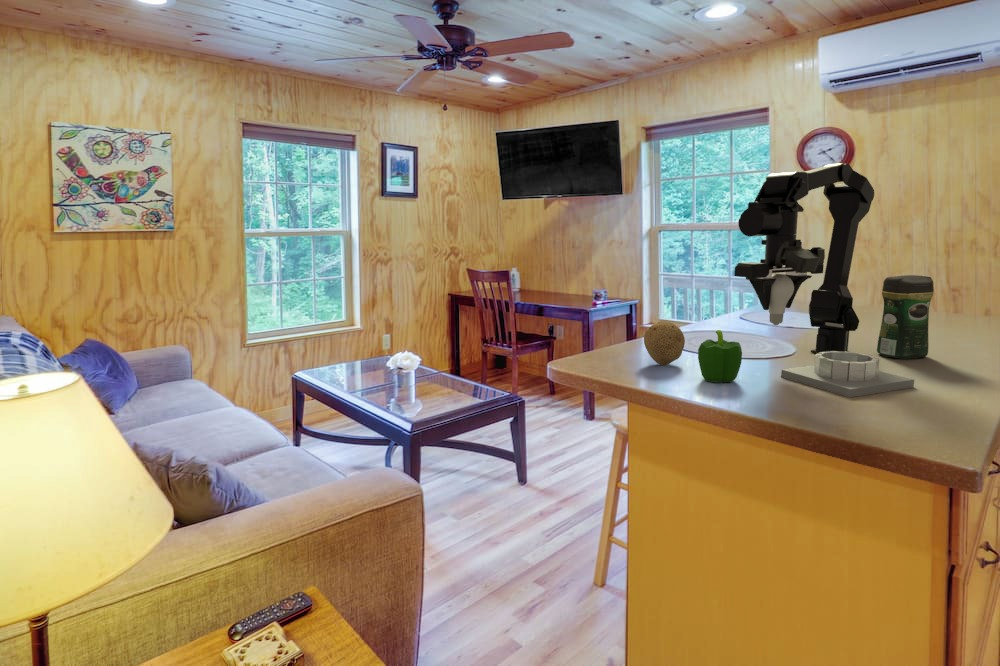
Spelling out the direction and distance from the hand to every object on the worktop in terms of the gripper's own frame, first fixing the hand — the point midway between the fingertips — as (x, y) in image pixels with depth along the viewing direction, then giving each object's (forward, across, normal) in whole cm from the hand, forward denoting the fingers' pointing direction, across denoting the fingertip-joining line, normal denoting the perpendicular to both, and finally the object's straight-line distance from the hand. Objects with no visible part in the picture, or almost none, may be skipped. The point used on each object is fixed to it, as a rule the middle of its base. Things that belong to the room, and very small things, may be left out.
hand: (776, 308), depth 126 cm
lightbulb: (+4, 0, 0) cm, 4 cm away
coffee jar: (+13, +34, -3) cm, 36 cm away
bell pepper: (+13, -17, -4) cm, 22 cm away
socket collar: (+11, +4, -14) cm, 19 cm away
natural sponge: (+13, -19, +12) cm, 26 cm away
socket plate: (+13, +4, -14) cm, 20 cm away
